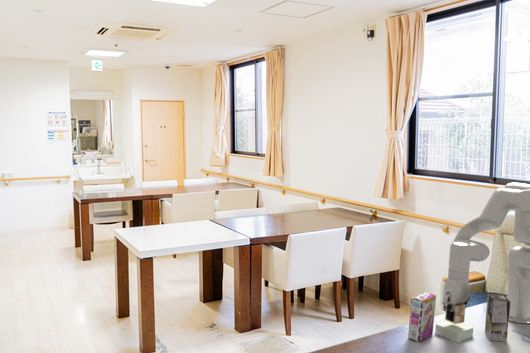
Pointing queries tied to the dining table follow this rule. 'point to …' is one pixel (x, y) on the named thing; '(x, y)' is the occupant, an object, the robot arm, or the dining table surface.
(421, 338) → the candy bar box
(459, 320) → the beech block
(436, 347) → the dining table surface
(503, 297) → the coffee box
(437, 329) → the sage base block
